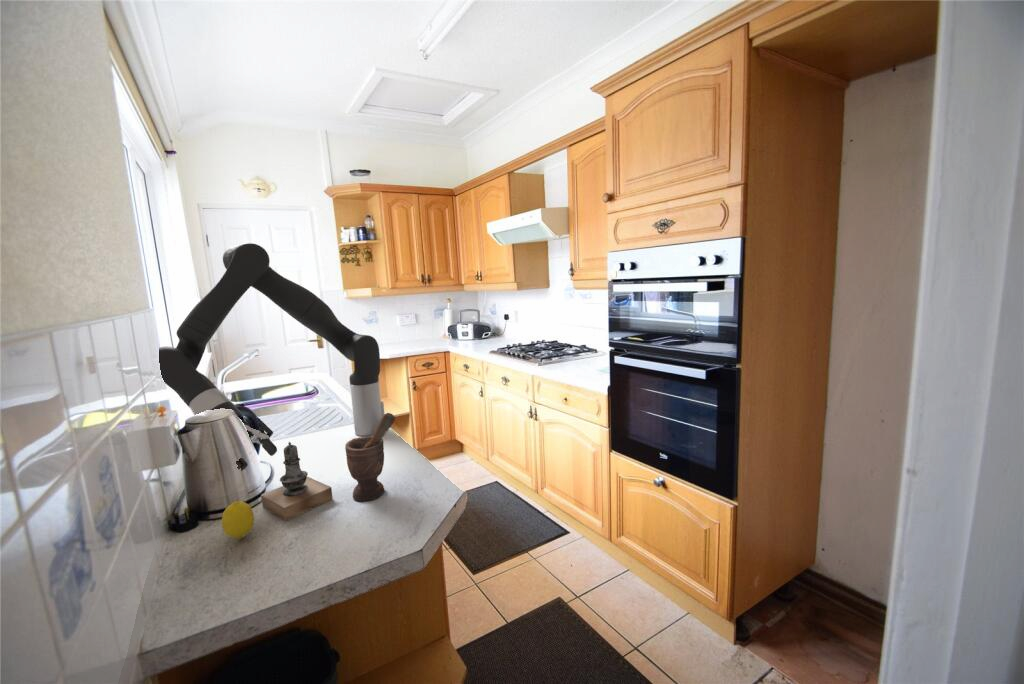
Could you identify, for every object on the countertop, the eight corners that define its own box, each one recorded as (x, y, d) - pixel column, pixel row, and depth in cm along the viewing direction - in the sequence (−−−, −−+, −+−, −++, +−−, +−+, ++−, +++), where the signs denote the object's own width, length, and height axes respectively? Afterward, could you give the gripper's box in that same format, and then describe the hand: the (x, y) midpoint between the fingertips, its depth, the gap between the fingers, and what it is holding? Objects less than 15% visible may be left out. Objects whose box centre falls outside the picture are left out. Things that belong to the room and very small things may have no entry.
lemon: (262, 532, 91) (257, 496, 90) (238, 548, 86) (232, 510, 85) (243, 528, 93) (237, 493, 92) (218, 544, 88) (212, 506, 87)
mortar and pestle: (399, 480, 112) (392, 405, 109) (402, 496, 104) (395, 414, 101) (350, 490, 108) (342, 411, 105) (350, 506, 100) (341, 422, 97)
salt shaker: (314, 484, 105) (308, 437, 104) (300, 497, 100) (293, 446, 98) (291, 484, 106) (285, 437, 104) (275, 497, 100) (269, 446, 98)
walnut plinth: (308, 487, 111) (306, 476, 110) (332, 499, 104) (331, 487, 104) (262, 506, 102) (260, 494, 102) (286, 520, 96) (284, 507, 95)
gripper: (194, 410, 98) (241, 463, 97) (248, 393, 112) (290, 439, 110) (180, 432, 100) (226, 483, 99) (235, 412, 114) (276, 458, 112)
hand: (260, 460), depth 104 cm, fingers open, 8 cm apart
